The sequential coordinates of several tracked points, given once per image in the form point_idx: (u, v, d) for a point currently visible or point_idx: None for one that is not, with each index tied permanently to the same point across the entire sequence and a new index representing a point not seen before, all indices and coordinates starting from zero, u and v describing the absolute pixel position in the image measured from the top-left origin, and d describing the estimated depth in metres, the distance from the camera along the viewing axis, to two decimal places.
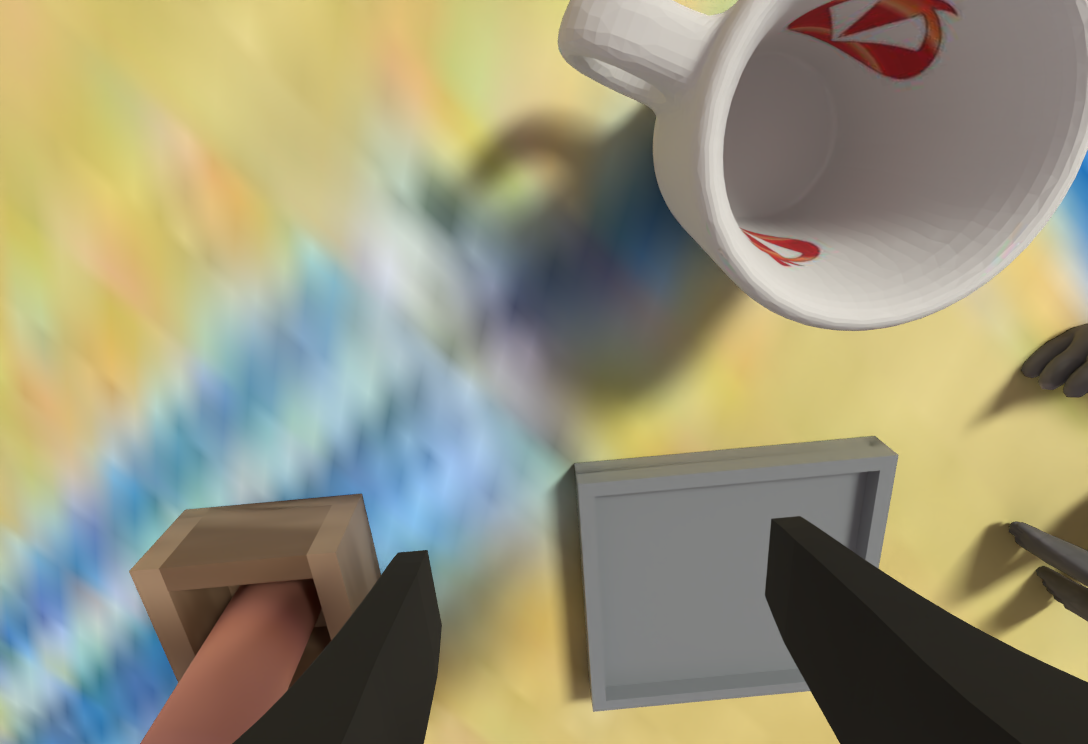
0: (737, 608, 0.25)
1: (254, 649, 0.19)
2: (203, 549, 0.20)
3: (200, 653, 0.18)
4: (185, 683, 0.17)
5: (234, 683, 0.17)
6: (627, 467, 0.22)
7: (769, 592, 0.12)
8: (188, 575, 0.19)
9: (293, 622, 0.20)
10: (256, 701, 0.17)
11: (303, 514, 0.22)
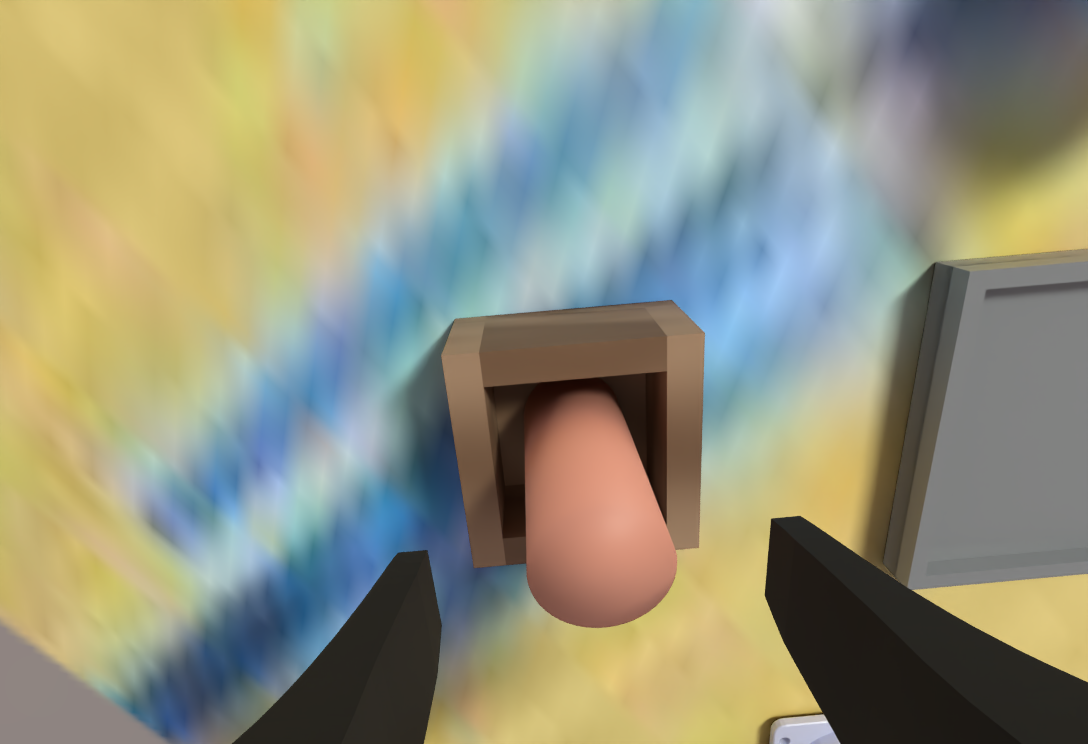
0: None
1: (619, 445, 0.14)
2: (520, 339, 0.16)
3: (550, 450, 0.14)
4: (562, 471, 0.13)
5: (627, 472, 0.13)
6: (1013, 260, 0.18)
7: (769, 592, 0.12)
8: (513, 363, 0.15)
9: (629, 434, 0.16)
10: (654, 497, 0.13)
11: (616, 314, 0.17)
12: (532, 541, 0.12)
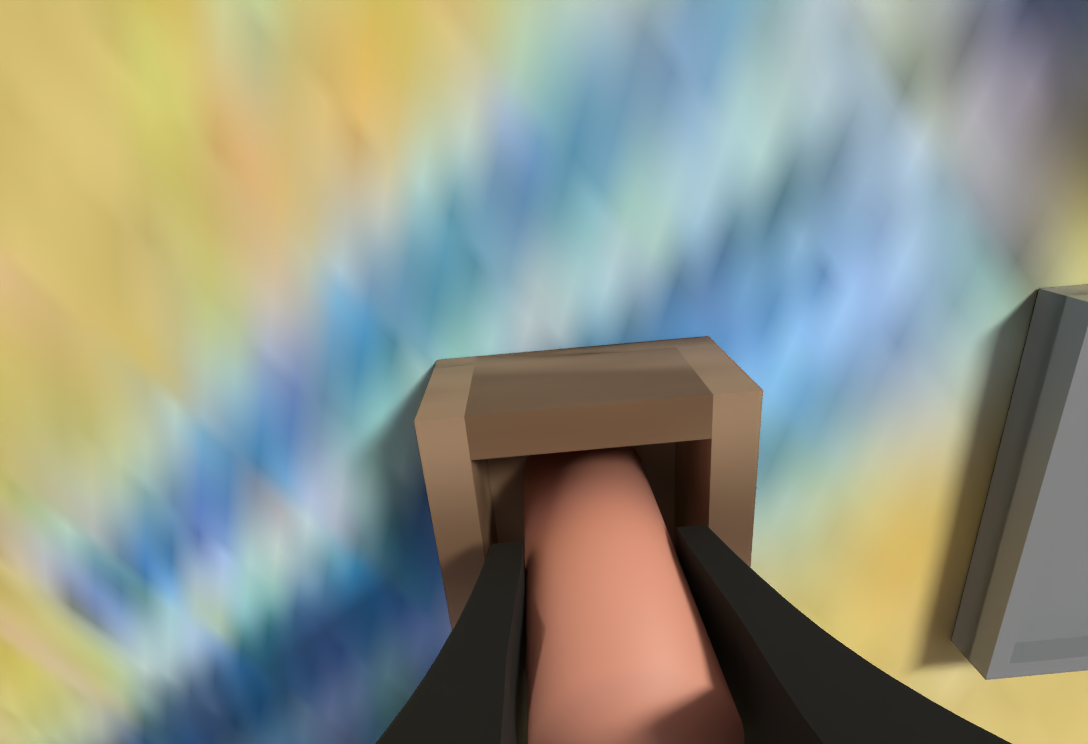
0: None
1: (653, 547, 0.11)
2: (518, 395, 0.12)
3: (560, 554, 0.11)
4: (577, 596, 0.09)
5: (668, 597, 0.09)
6: None
7: None
8: (510, 430, 0.12)
9: (661, 517, 0.12)
10: (704, 631, 0.09)
11: (641, 356, 0.14)
12: (536, 714, 0.08)
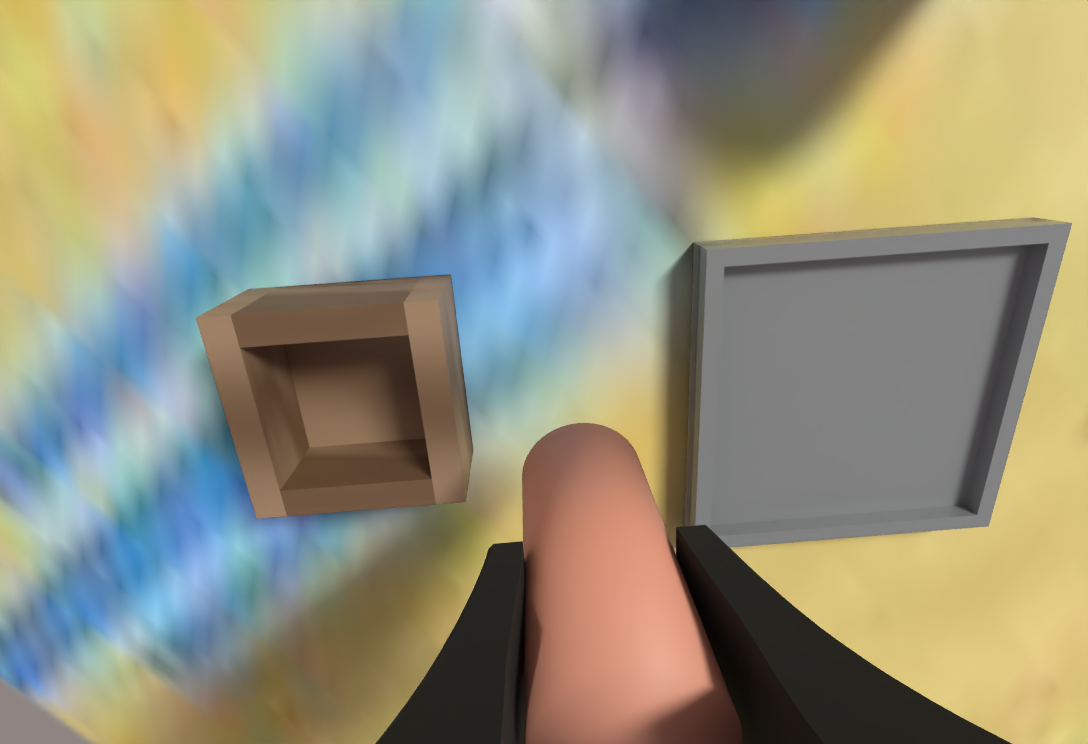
0: (862, 429, 0.22)
1: (651, 545, 0.11)
2: (279, 305, 0.17)
3: (558, 552, 0.11)
4: (575, 595, 0.09)
5: (666, 596, 0.09)
6: (758, 241, 0.19)
7: None
8: (264, 326, 0.17)
9: (659, 516, 0.12)
10: (702, 629, 0.09)
11: (388, 285, 0.19)
12: (534, 712, 0.08)
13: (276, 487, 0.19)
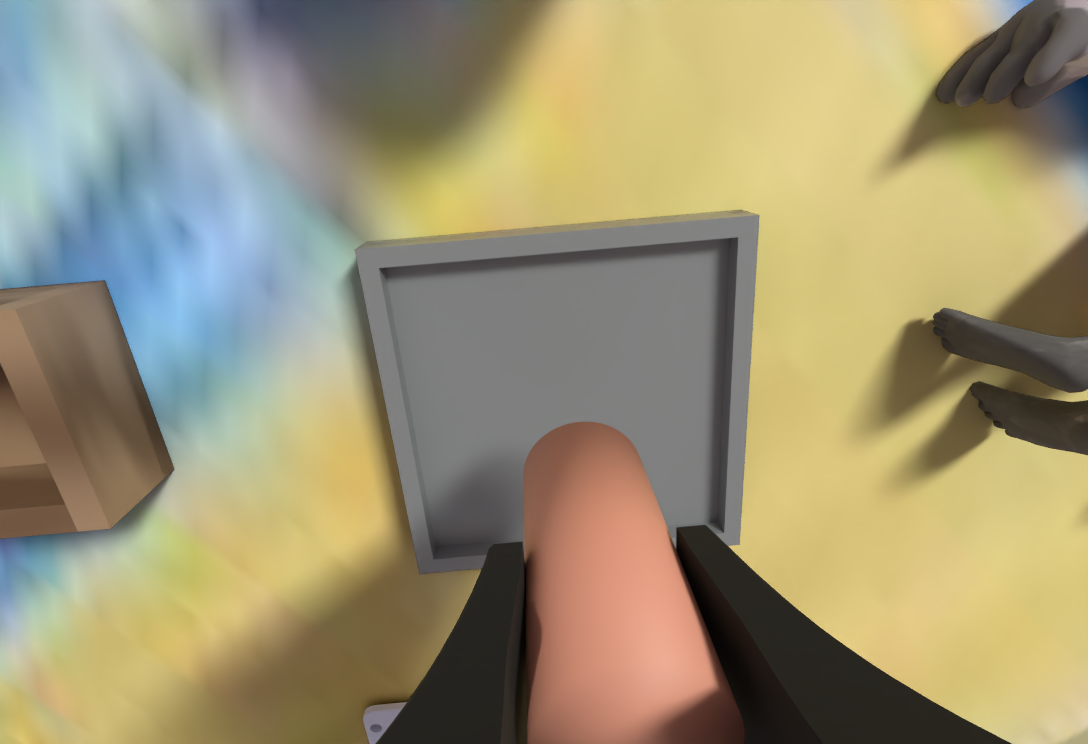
0: None
1: (653, 543, 0.11)
2: None
3: (559, 550, 0.10)
4: (577, 593, 0.09)
5: (668, 593, 0.09)
6: (426, 239, 0.18)
7: None
8: None
9: (661, 515, 0.12)
10: (705, 627, 0.09)
11: (16, 293, 0.17)
12: (536, 710, 0.08)
13: None
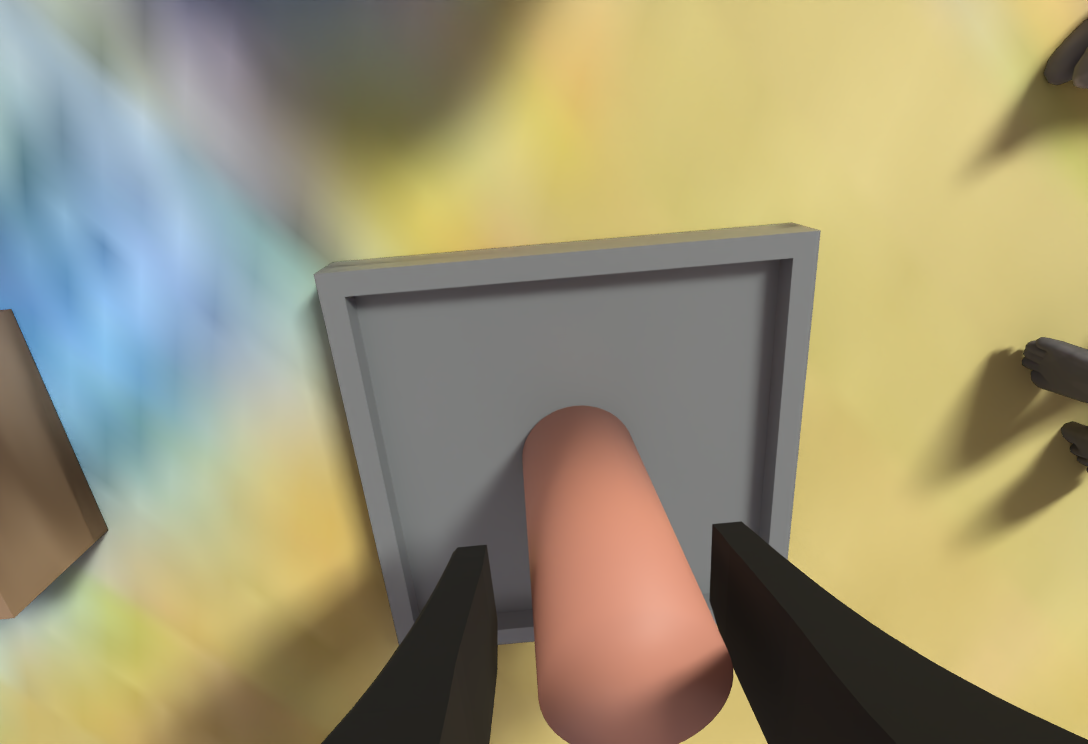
0: None
1: (648, 510, 0.11)
2: None
3: (562, 518, 0.11)
4: (580, 553, 0.10)
5: (663, 552, 0.10)
6: (405, 260, 0.14)
7: (713, 598, 0.12)
8: None
9: (653, 488, 0.13)
10: (696, 583, 0.10)
11: None
12: (545, 655, 0.09)
13: None
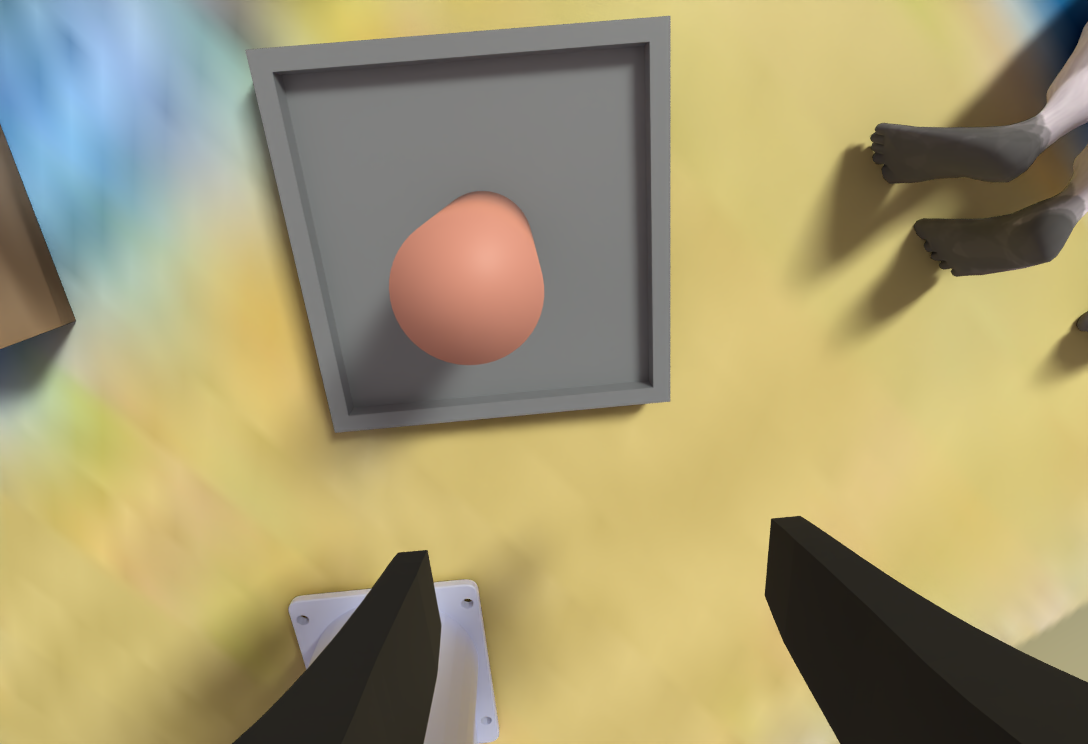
0: None
1: (505, 210, 0.14)
2: None
3: None
4: (436, 214, 0.13)
5: (502, 215, 0.13)
6: None
7: (769, 592, 0.12)
8: None
9: (527, 226, 0.16)
10: (530, 242, 0.13)
11: None
12: None
13: None
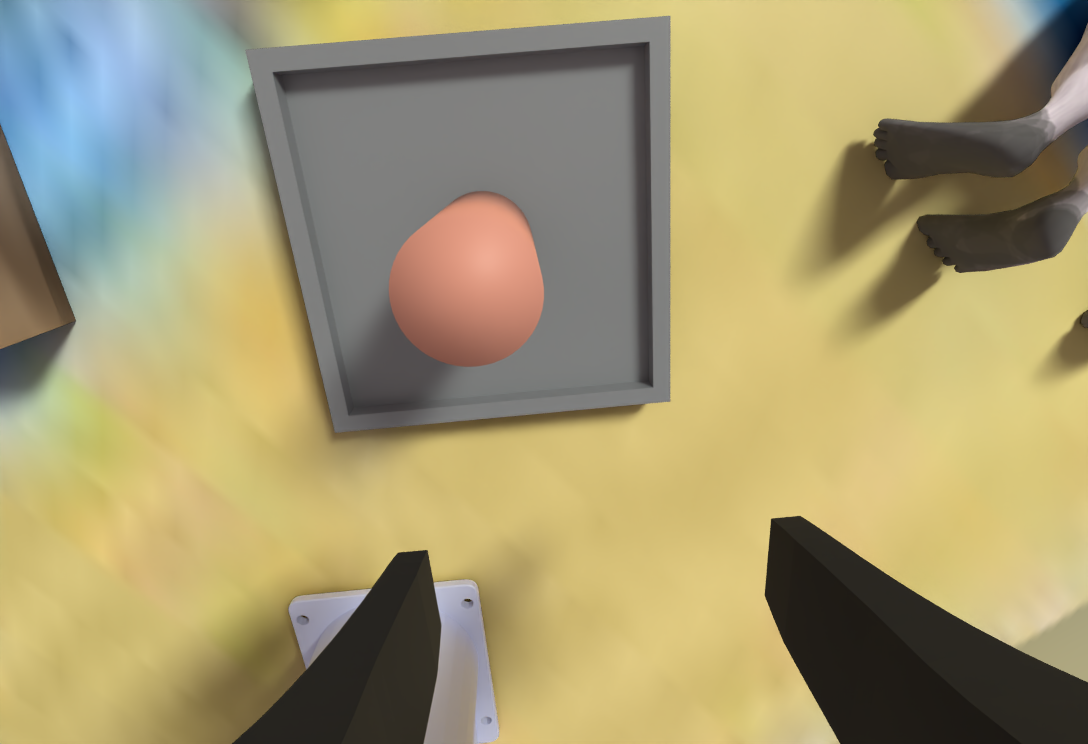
0: None
1: (505, 211, 0.14)
2: None
3: (434, 216, 0.14)
4: (436, 216, 0.13)
5: (502, 216, 0.13)
6: None
7: (769, 592, 0.12)
8: None
9: (527, 227, 0.16)
10: (530, 244, 0.13)
11: None
12: None
13: None
